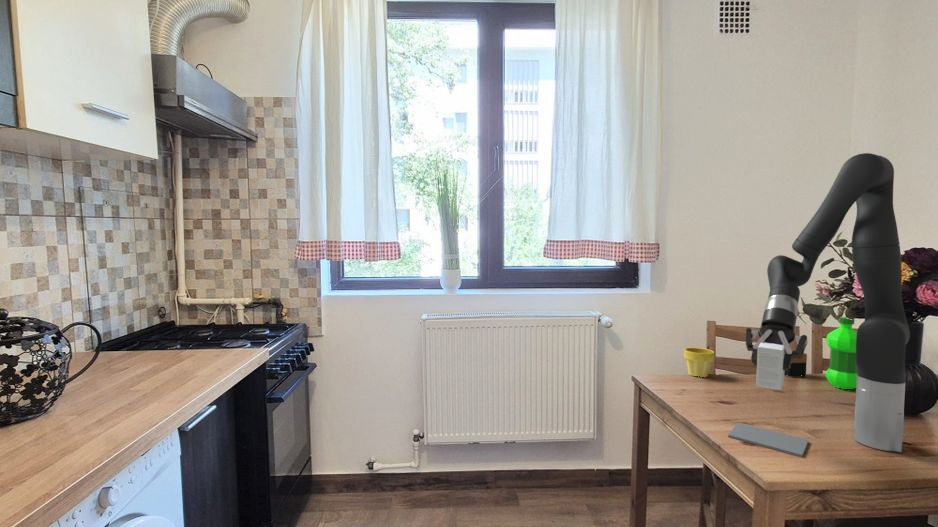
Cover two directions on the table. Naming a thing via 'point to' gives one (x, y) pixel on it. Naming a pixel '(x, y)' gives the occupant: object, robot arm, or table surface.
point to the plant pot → (698, 361)
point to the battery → (797, 366)
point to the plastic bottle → (842, 355)
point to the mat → (769, 439)
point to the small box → (770, 365)
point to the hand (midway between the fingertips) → (769, 366)
